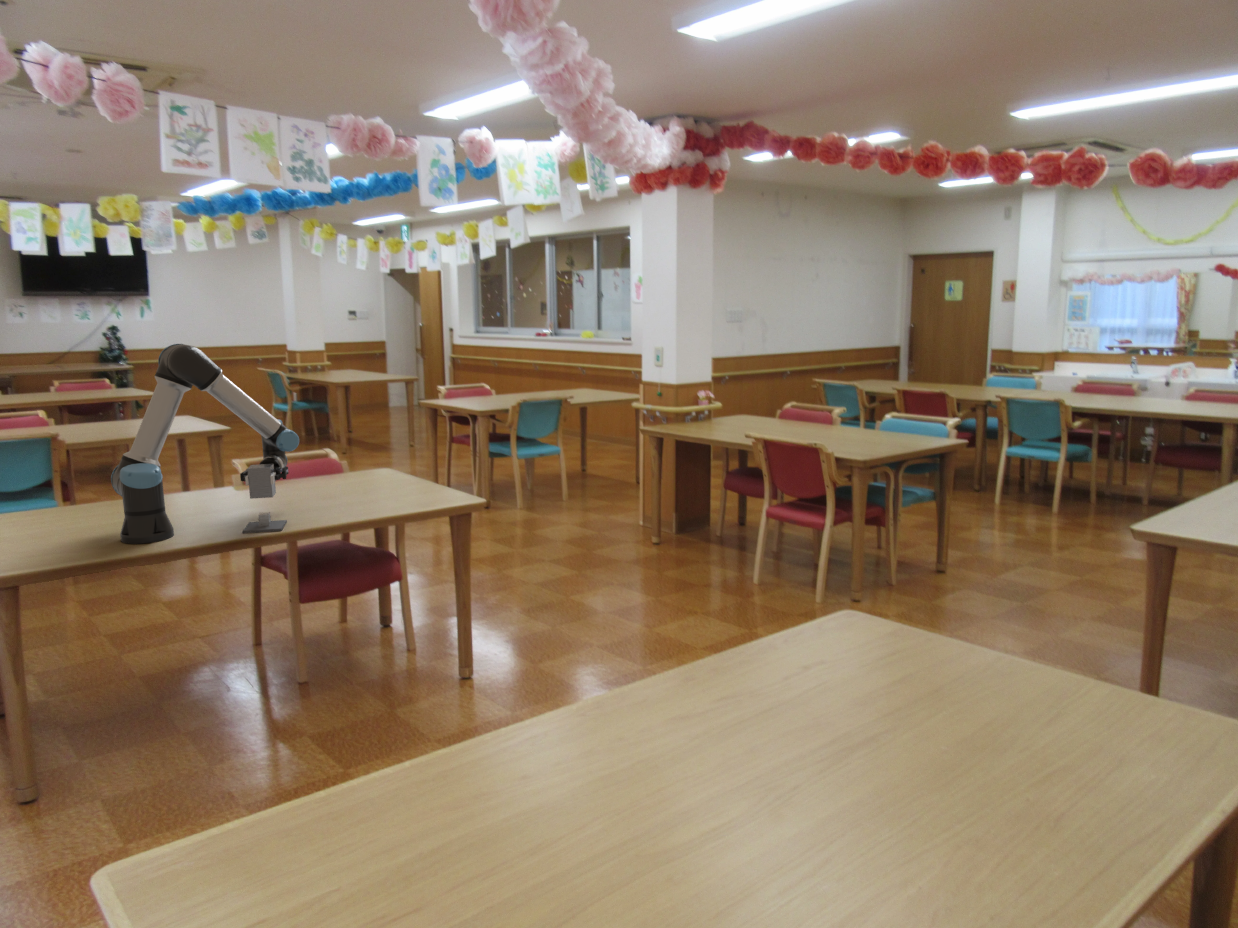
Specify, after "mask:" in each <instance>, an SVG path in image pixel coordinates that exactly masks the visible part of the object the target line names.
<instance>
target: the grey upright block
mask: <svg viewBox="0 0 1238 928" xmlns="http://www.w3.org/2000/svg"><path fill="white" fill-rule="evenodd" d="M247 468H248V469H247ZM247 468H246V469H247V470H248V481H249V485H248V490H249V499H267V498H268V499H269V498H274V497H275V495H276V494H277V490H276V482H275V483H274V484H271V478H270V476H271V475H272V474H273V472H274V464H260V463H259V464H250V465H249V466H248V467H247Z"/></svg>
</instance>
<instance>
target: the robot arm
mask: <svg viewBox="0 0 1238 928" xmlns="http://www.w3.org/2000/svg"><path fill="white" fill-rule="evenodd" d="M157 362H158V366H157V368H156V372H155V375H154V377H153V378H154V379H155V381H156V385H155V388H154V391H153V393H152V396H151V398H150V401H149V404H148V405H147V408H146V411H145V413H144V415H143V418H142V420H141V423H140V425H139V427H138V431H137V433H136V434H135V435H136V436H135V438H134V440H133V443H132V445H131V447H130V449H129V451H127V452H125V453H123V454H122V456H121V459H120V461H119V463H118V465H116V467H114V469H113V470H112V473H111V475H110V481H111V483H110V484H111V486H112V489H113V490H114V492H115V493H116V494H117V495H119V496H120V497H122V505H123V513H124V518H123V522H122V527H121V531H120V542H122V543H124V544H130V545H133V544H134V545H141V544H151V543H155V542H156V543H157V542H162V541H165V540H168V539H171V538H172V537H174V536H175V532H174V527H173V525H172V522H171V520H170V518H169V516H168V514H167V512H166V506H165V505H166V502H165V495H164V494H165V493H164V483H163V479H164V478H163V477H164V476H163V474H162V469H161V466H162V465H161V463H160V461H159V457H160V455H161V452H162V450H163V448H164V445H165V442H166V440H167V437H168V435H169V432H170V430H171V428H172V425H173V422H174V420H175V417H176V415H177V412H178V409H179V407H180V404H181V402H182V400H183V397H184V394H185V393H186V392H188V391H190V390H192V388H193V386H194V387H195V388H197V389H198V390H199V391H200V392H207V394H209V395H211V396H212V397H213V398H214V399H215V400H217V401H218V402H219V403H220V404H222V405H223V406H225V408H227V409H228V410H229V411H230V412H232V413H233V414H234V415H236V416H237V417H238V418H239V419H241V420H242V421H243V422H244V423H245V424H247V425H248V426H249V427H251V429H253V430H254V431H255V432H257V433H258V434H259V435H260V439H261V445H262V446H261V447H262V457H263V459H262V460H261V461H259V464H274V472H273V474H272V475H271V476H270V478H271V484H274V483H275V484H276V482H277V481H279V480H281V479H282V480H287V475H289V466H287V465H288V457H287V455H286V452H287V453H289V452H293V451H294V450H296V449H297V448H298V446H300V445H299V444H300V437H299V435H298V433H296V432H295V431H294V430H293V429H289V428H288V427H287V426H286V425H285V424H284V423H283V421H282V419H277V418H276V417H275V416H273V414H271V413H270V412H269V411H267V409H265V408H264V407H263V406H262V405H260V403H258V402H257V401H255V399H253V398H252V397H251V396H249V394H247V393H246V392H244V390H242V389H241V388H240V387H238V386H237V385H236V384H235V383H234V382H233V381H231V380H230V379H229V378H228V377H227V376H226V375H224V374H223V369H222V368H221V367H220V366H218V365H217V364H216V363H215V362H214V361H213V360H212V359H210V357H209V356H208V355H206V353H205V352H203V350H201V349H200V348H198V347H196V346H194V345H189V344H184V343H174V344H170V345H168V346H166V347H165V348H164V349H163V350H162V351H161V352H160V353H159V356H158V360H157ZM248 468H249V467H247V468H246V469H245V470H243V471H242V472H241V473H239V477H240V481H241V482H245V486H249V481H248V470H247V469H248Z"/></svg>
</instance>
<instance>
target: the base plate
mask: <svg viewBox="0 0 1238 928" xmlns="http://www.w3.org/2000/svg"><path fill="white" fill-rule="evenodd" d="M287 523H288V519H280V520H279V519H277V520H271V525H270V526H263V527H259V521H249V522H248V523H247V525H246V526H245V527H244V528H243V530H242V534H252V533H253V534H254V533H269V532H270V533H272V532H282V531H283V530H284V527H285V526H286V525H287Z"/></svg>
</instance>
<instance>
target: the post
mask: <svg viewBox="0 0 1238 928" xmlns="http://www.w3.org/2000/svg"><path fill="white" fill-rule="evenodd" d="M257 518H258V522H259V527H263V526H270V525H271V521H272V520H271V512H269V511H267V512H259V513H258V517H257Z"/></svg>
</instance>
